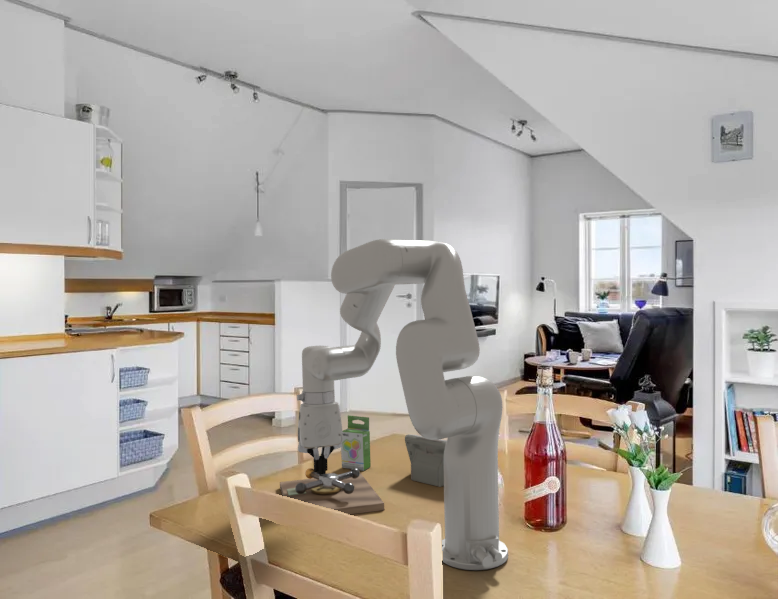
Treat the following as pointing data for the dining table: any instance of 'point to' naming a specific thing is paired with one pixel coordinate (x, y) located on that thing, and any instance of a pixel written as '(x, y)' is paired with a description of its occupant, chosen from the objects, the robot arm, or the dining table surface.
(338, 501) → the stand
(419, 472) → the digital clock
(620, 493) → the dining table surface
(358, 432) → the ink box
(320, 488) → the capstan
